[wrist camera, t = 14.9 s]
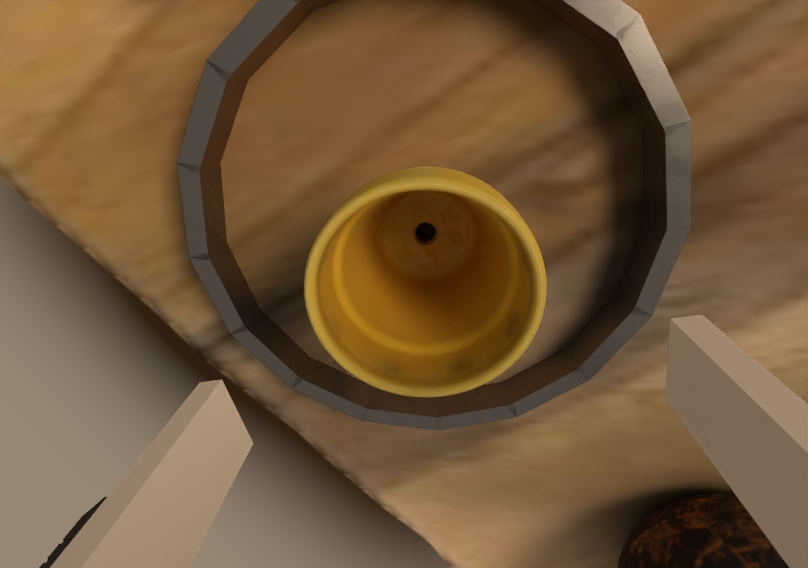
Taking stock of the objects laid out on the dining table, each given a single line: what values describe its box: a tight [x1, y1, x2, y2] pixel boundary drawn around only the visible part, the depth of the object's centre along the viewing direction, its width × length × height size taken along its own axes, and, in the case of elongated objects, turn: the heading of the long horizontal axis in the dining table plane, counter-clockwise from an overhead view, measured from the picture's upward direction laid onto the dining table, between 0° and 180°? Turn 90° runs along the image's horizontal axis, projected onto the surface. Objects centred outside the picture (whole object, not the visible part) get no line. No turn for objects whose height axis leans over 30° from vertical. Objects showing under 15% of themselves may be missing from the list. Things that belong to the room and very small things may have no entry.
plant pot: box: [304, 167, 547, 397], centre depth 21 cm, size 10×10×10 cm
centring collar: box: [177, 0, 691, 430], centre depth 25 cm, size 28×28×2 cm
